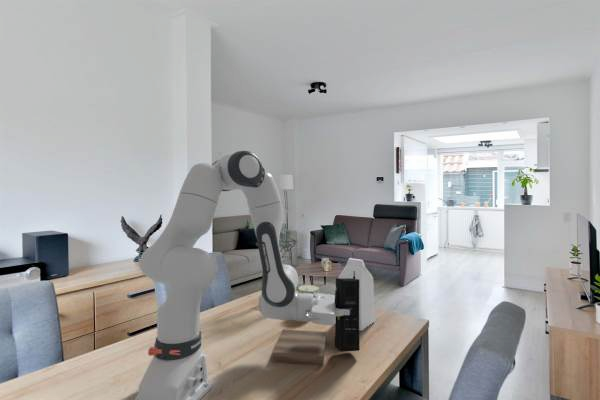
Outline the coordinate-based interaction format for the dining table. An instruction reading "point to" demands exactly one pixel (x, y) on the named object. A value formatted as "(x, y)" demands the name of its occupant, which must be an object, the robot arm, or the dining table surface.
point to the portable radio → (347, 323)
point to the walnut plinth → (300, 347)
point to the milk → (362, 290)
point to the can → (308, 289)
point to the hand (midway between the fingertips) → (349, 309)
